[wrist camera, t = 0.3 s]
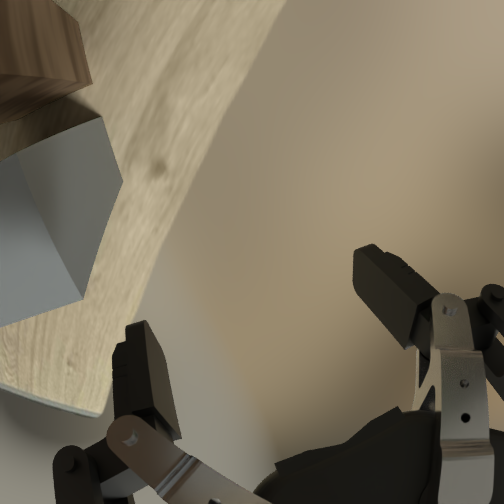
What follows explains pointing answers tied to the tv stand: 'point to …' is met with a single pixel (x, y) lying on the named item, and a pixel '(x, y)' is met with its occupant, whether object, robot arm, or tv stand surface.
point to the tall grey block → (54, 219)
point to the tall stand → (38, 56)
